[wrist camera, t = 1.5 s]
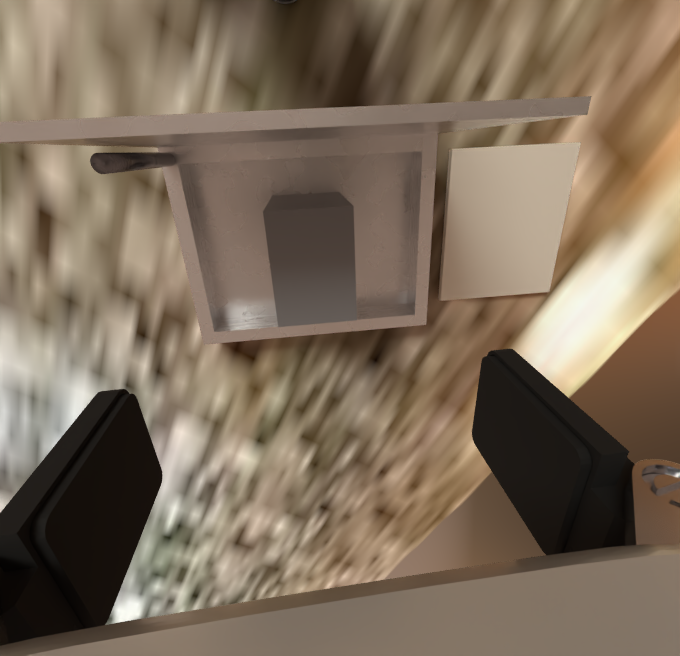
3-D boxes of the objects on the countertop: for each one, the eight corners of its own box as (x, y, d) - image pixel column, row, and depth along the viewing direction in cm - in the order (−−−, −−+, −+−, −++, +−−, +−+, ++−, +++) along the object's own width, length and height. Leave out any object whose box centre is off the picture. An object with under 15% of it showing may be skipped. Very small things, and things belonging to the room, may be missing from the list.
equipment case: (424, 127, 27) (591, 96, 12) (415, 310, 33) (516, 446, 18) (170, 139, 26) (-17, 122, 10) (211, 328, 32) (133, 490, 17)
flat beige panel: (575, 142, 28) (580, 142, 28) (545, 289, 34) (549, 291, 33) (449, 149, 28) (452, 148, 27) (438, 298, 33) (440, 300, 32)
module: (338, 191, 28) (353, 205, 21) (343, 280, 31) (356, 320, 24) (271, 195, 27) (262, 211, 20) (282, 285, 30) (278, 327, 23)
